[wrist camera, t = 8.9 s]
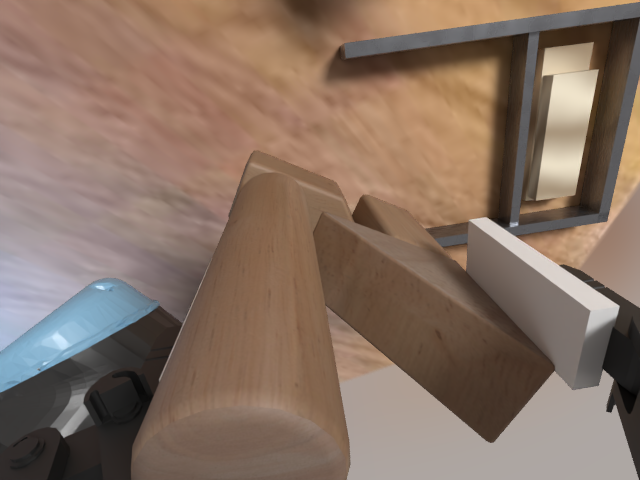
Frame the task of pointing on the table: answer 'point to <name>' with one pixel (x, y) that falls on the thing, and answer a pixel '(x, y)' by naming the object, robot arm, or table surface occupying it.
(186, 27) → the table surface
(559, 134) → the offcut stack
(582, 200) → the tray
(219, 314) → the wooden block
